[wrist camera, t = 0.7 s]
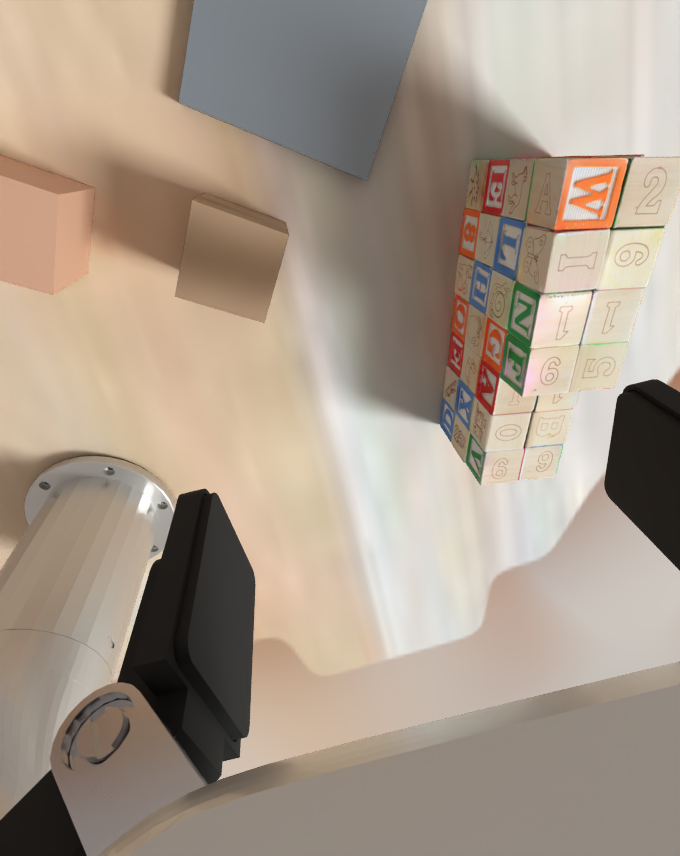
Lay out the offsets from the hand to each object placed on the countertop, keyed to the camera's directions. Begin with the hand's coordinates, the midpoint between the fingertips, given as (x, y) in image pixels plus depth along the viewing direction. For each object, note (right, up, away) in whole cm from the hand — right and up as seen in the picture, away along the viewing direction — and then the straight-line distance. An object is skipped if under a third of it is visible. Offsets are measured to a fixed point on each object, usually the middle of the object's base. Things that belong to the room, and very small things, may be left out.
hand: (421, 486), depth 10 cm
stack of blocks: (+10, +11, +26) cm, 30 cm away
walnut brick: (-9, +14, +21) cm, 27 cm away
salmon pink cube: (-21, +15, +19) cm, 32 cm away
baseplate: (-4, +25, +16) cm, 29 cm away
